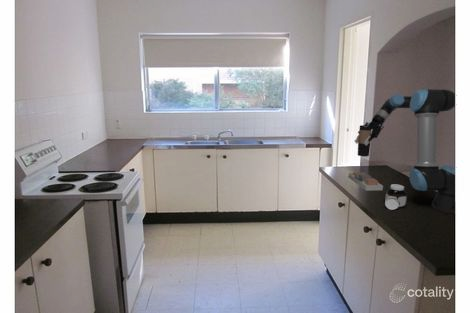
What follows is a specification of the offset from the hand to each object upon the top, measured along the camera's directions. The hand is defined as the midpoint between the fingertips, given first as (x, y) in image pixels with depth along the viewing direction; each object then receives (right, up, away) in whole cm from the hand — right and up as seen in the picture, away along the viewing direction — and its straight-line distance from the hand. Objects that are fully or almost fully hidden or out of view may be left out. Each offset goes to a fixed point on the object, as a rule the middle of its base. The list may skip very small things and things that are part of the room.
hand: (360, 143), depth 227 cm
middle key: (+3, -24, +1) cm, 25 cm away
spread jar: (+5, -37, -38) cm, 53 cm away
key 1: (+3, -24, +10) cm, 26 cm away
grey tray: (+3, -27, +2) cm, 27 cm away
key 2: (+4, -27, -8) cm, 28 cm away
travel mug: (+3, -8, +4) cm, 9 cm away
